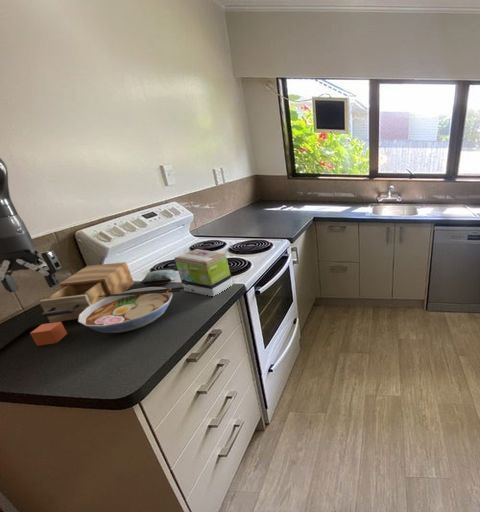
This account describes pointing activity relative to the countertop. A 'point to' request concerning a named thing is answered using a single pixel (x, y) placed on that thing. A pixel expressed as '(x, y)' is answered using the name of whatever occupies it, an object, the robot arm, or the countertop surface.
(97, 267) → the cabinet
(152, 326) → the countertop surface
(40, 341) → the block
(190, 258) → the tea box
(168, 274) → the packaged food
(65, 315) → the drawer
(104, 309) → the ramen bowl
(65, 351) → the countertop surface
